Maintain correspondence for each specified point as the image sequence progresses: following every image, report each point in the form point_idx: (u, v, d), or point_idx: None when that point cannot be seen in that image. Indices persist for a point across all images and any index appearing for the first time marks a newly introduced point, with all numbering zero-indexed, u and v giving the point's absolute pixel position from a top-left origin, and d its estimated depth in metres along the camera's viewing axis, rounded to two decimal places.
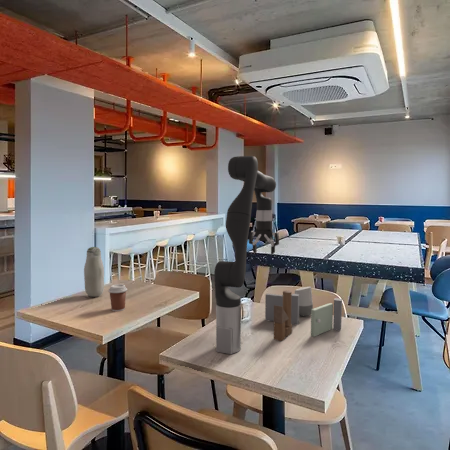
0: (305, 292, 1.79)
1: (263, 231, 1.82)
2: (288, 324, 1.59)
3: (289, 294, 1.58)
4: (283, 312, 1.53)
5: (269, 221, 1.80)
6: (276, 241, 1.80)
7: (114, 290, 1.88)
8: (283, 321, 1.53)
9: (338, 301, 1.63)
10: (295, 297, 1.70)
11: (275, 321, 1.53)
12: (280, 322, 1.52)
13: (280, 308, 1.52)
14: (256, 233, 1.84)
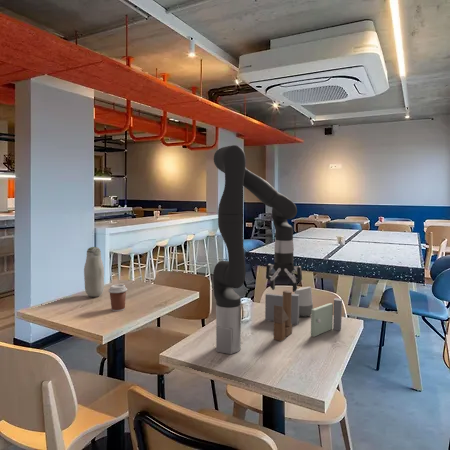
0: (305, 292, 1.80)
1: (283, 265, 1.54)
2: (288, 324, 1.59)
3: (290, 294, 1.58)
4: (283, 312, 1.53)
5: (290, 253, 1.52)
6: (299, 277, 1.52)
7: (114, 290, 1.88)
8: (283, 321, 1.53)
9: (338, 301, 1.63)
10: (295, 297, 1.70)
11: (275, 321, 1.53)
12: (280, 322, 1.52)
13: (280, 308, 1.52)
14: (275, 267, 1.56)
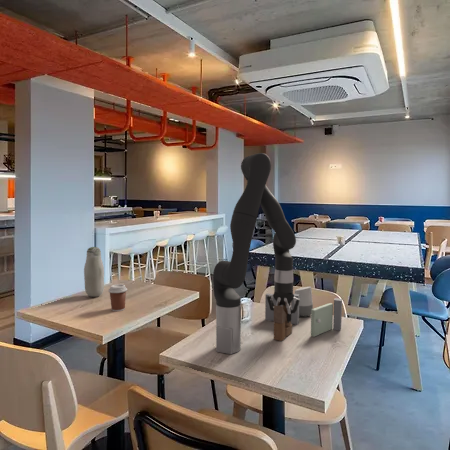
0: (305, 292, 1.80)
1: (283, 294, 1.55)
2: (288, 324, 1.59)
3: None
4: (283, 312, 1.53)
5: (290, 283, 1.53)
6: (294, 309, 1.54)
7: (114, 290, 1.88)
8: (283, 321, 1.53)
9: (338, 301, 1.63)
10: None
11: (275, 321, 1.53)
12: (280, 322, 1.52)
13: (280, 308, 1.52)
14: (274, 296, 1.57)
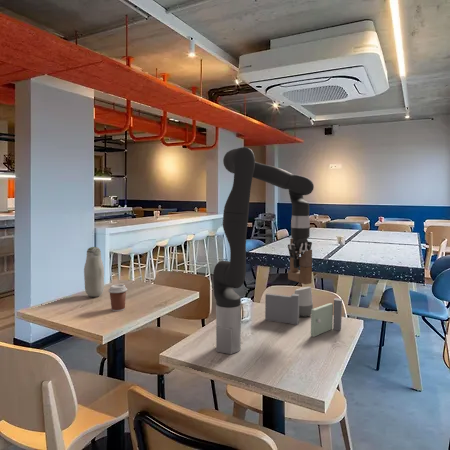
0: (305, 292, 1.79)
1: (302, 239, 1.60)
2: None
3: None
4: None
5: None
6: None
7: (114, 290, 1.88)
8: None
9: (338, 301, 1.63)
10: (295, 297, 1.70)
11: (307, 266, 1.57)
12: (310, 265, 1.58)
13: (311, 251, 1.57)
14: (297, 243, 1.58)
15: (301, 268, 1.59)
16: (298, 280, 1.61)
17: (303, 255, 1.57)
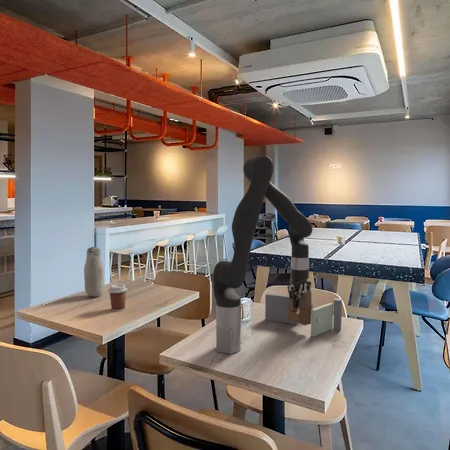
0: None
1: (302, 280, 1.62)
2: None
3: None
4: None
5: None
6: (308, 291, 1.65)
7: (114, 290, 1.88)
8: None
9: (338, 301, 1.63)
10: None
11: (306, 307, 1.59)
12: (310, 306, 1.60)
13: (310, 293, 1.59)
14: (296, 284, 1.60)
15: (300, 309, 1.60)
16: (297, 320, 1.62)
17: (302, 296, 1.59)
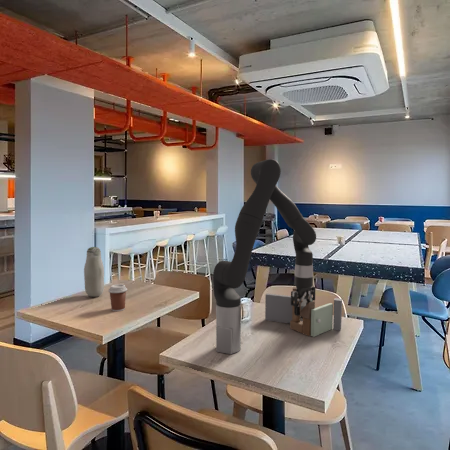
0: None
1: (305, 288, 1.60)
2: (300, 319, 1.65)
3: None
4: None
5: None
6: (314, 296, 1.65)
7: (114, 290, 1.88)
8: None
9: (338, 301, 1.63)
10: None
11: (310, 317, 1.57)
12: None
13: (313, 303, 1.58)
14: (300, 292, 1.58)
15: (304, 319, 1.59)
16: (301, 331, 1.61)
17: (306, 307, 1.58)
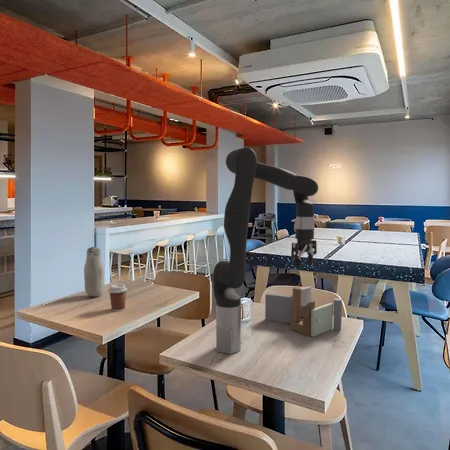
0: (305, 292, 1.80)
1: (306, 241, 1.59)
2: (300, 319, 1.65)
3: None
4: None
5: None
6: (315, 250, 1.63)
7: (114, 290, 1.88)
8: None
9: (338, 301, 1.63)
10: None
11: (310, 317, 1.57)
12: None
13: (313, 303, 1.58)
14: (301, 244, 1.56)
15: (304, 319, 1.59)
16: (301, 331, 1.61)
17: (306, 307, 1.58)
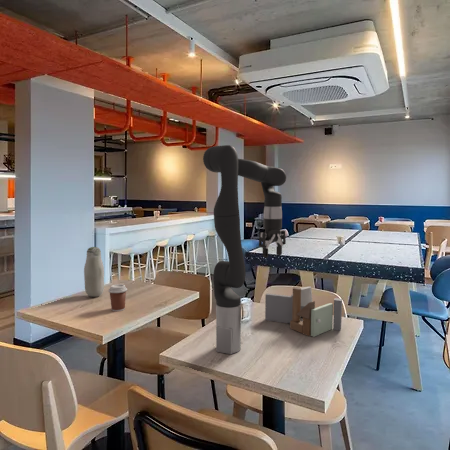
0: (305, 292, 1.80)
1: (274, 230, 1.59)
2: (300, 319, 1.65)
3: None
4: None
5: None
6: (284, 240, 1.64)
7: (114, 290, 1.88)
8: None
9: (338, 301, 1.63)
10: None
11: (310, 317, 1.57)
12: None
13: (313, 303, 1.58)
14: (269, 234, 1.57)
15: (304, 319, 1.59)
16: (301, 331, 1.61)
17: (306, 307, 1.58)
